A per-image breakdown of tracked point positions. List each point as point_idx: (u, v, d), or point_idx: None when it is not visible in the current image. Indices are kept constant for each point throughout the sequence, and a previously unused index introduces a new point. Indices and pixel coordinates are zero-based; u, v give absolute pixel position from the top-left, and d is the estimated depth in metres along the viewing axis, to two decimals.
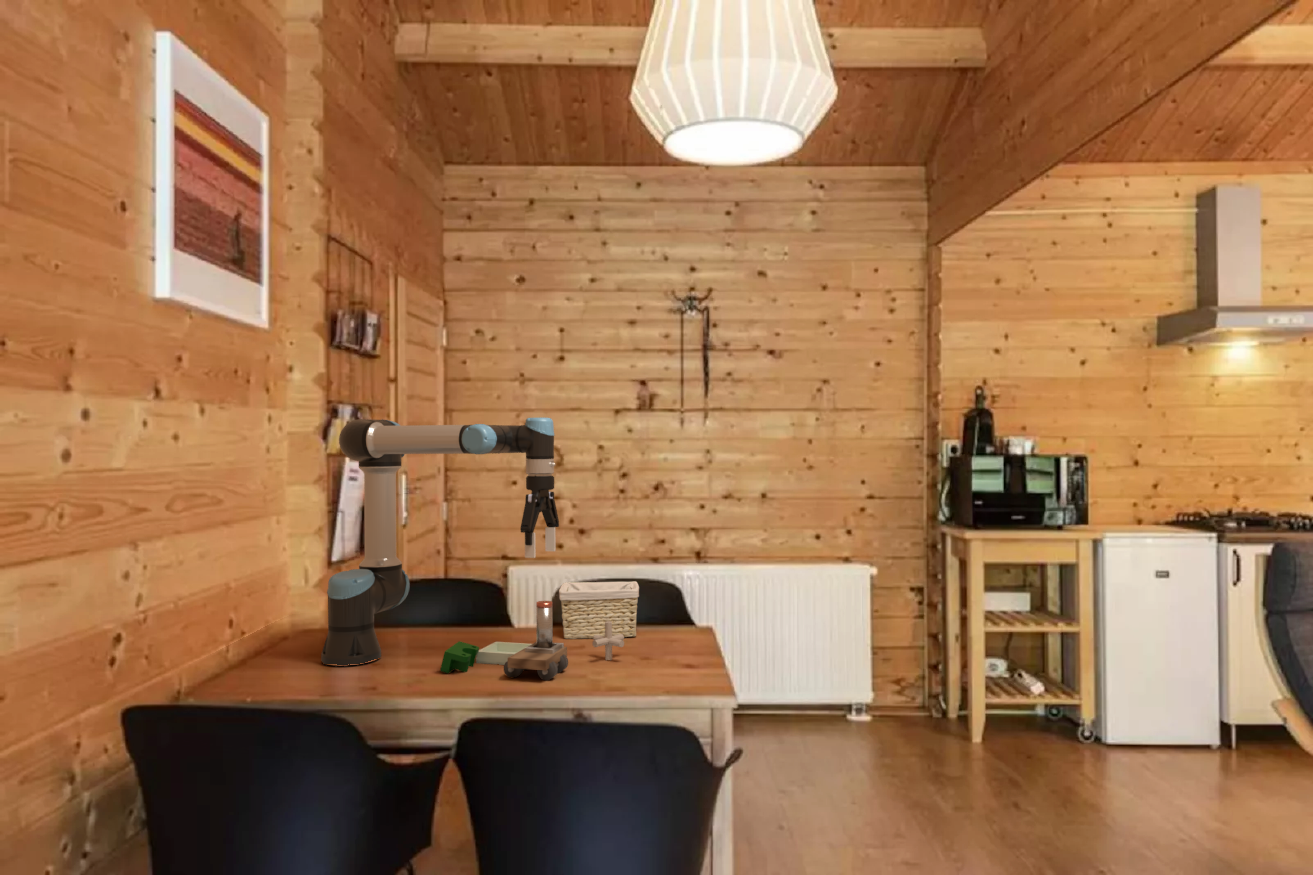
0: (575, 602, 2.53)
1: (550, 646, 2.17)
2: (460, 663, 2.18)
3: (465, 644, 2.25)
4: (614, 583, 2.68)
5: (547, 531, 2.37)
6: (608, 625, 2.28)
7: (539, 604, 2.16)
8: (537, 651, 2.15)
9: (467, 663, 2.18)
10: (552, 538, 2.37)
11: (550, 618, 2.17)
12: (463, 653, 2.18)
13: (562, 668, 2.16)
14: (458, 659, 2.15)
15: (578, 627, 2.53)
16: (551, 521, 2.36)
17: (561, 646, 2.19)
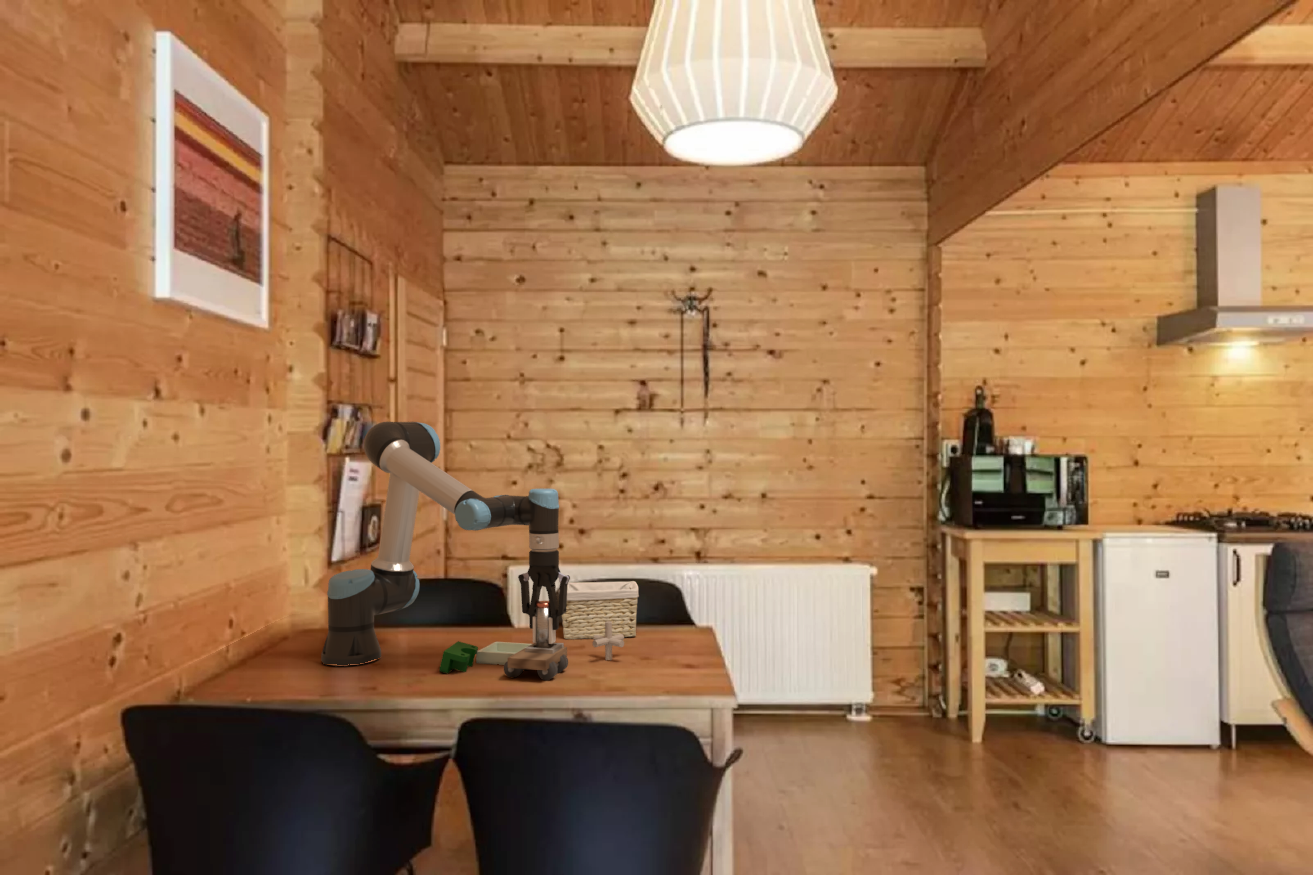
0: (575, 602, 2.53)
1: (550, 646, 2.17)
2: (459, 663, 2.18)
3: (464, 644, 2.25)
4: (613, 583, 2.68)
5: None
6: (608, 625, 2.28)
7: (539, 604, 2.16)
8: (537, 651, 2.15)
9: (466, 663, 2.18)
10: None
11: None
12: (462, 653, 2.18)
13: (562, 668, 2.16)
14: (457, 659, 2.15)
15: (578, 627, 2.53)
16: None
17: (561, 646, 2.19)
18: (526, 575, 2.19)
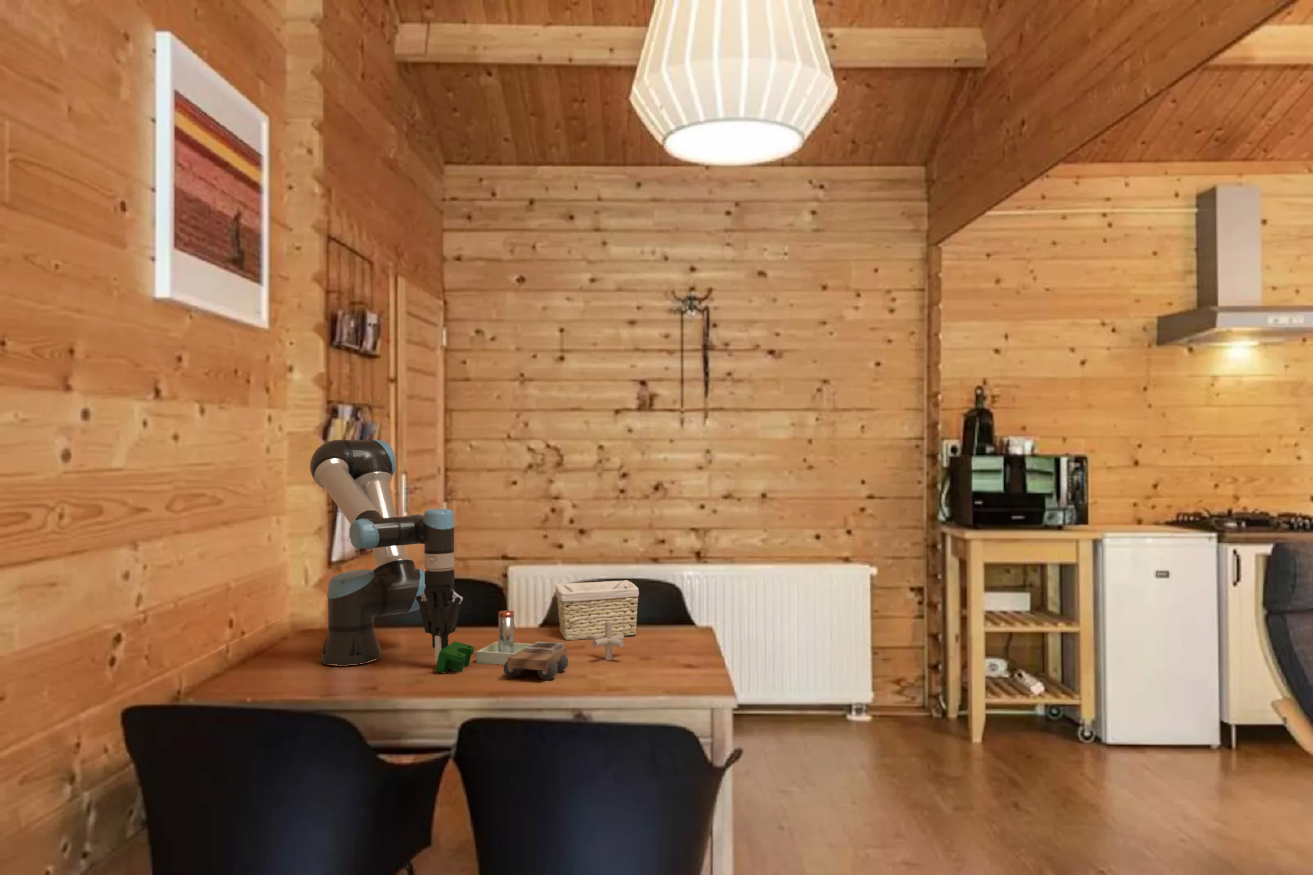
0: (577, 603, 2.52)
1: None
2: (455, 663, 2.18)
3: (460, 644, 2.26)
4: (606, 583, 2.69)
5: None
6: (608, 625, 2.28)
7: (501, 614, 2.29)
8: (537, 651, 2.15)
9: (462, 663, 2.18)
10: None
11: (511, 627, 2.30)
12: (458, 653, 2.18)
13: (562, 668, 2.16)
14: (453, 659, 2.15)
15: (580, 628, 2.52)
16: None
17: (561, 646, 2.19)
18: (423, 595, 2.23)
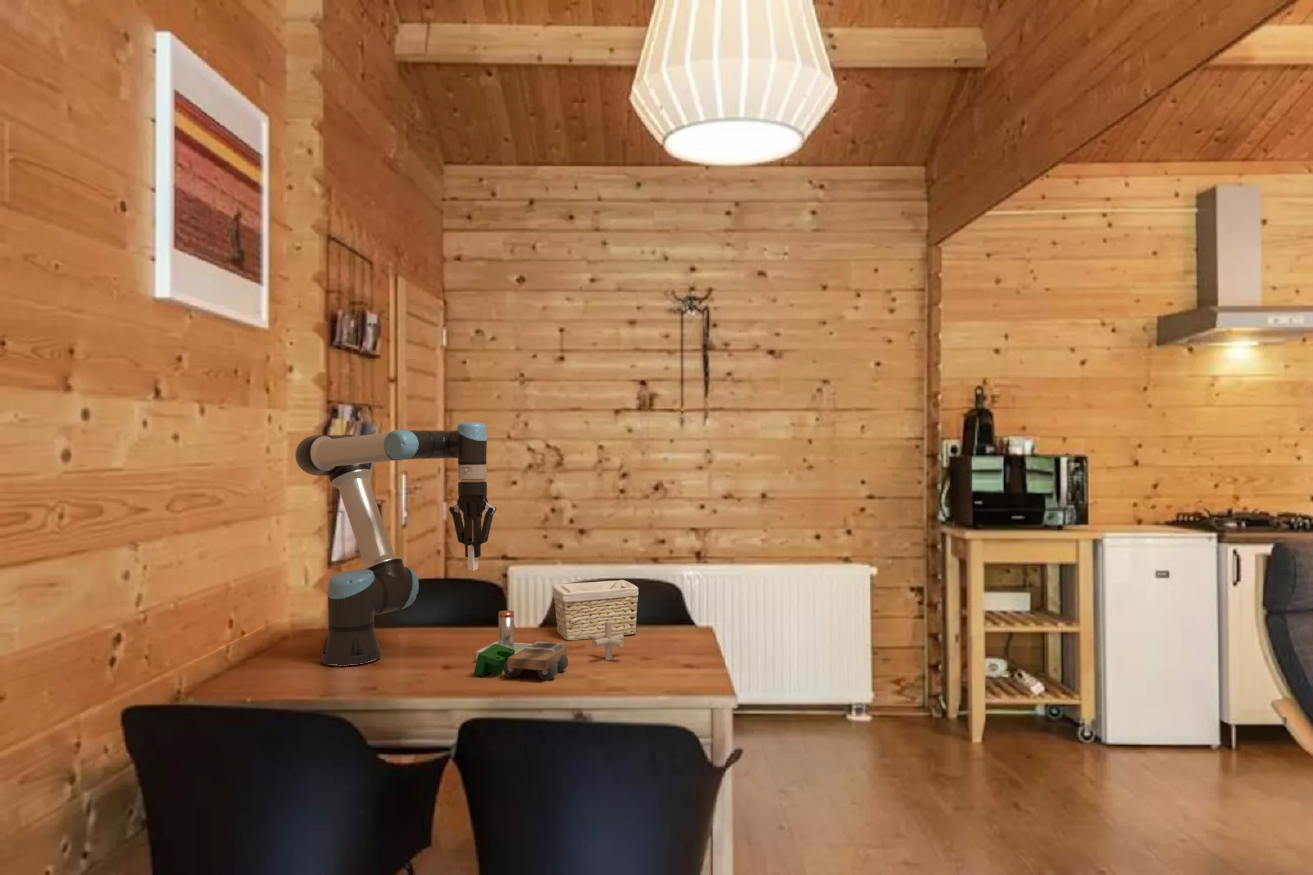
0: (578, 603, 2.52)
1: None
2: (494, 666, 2.15)
3: (501, 647, 2.22)
4: (603, 583, 2.69)
5: None
6: (608, 625, 2.28)
7: (501, 614, 2.29)
8: (537, 651, 2.15)
9: (501, 666, 2.14)
10: None
11: (511, 627, 2.30)
12: (497, 656, 2.14)
13: (562, 668, 2.16)
14: (491, 662, 2.12)
15: (581, 628, 2.52)
16: None
17: (561, 646, 2.19)
18: (456, 506, 2.29)
